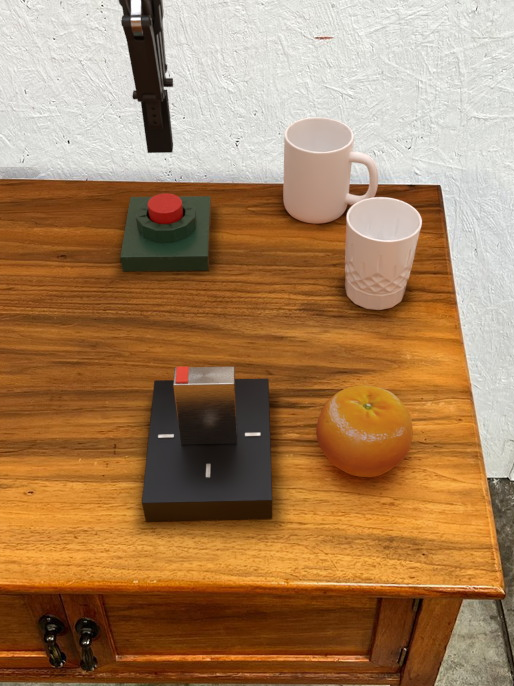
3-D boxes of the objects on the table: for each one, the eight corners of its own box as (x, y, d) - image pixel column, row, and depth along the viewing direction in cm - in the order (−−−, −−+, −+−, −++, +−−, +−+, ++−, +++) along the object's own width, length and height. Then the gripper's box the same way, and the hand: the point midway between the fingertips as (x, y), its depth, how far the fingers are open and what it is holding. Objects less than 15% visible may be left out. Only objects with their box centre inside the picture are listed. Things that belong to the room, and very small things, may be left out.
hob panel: (157, 400, 77) (154, 379, 74) (268, 398, 77) (268, 377, 75) (145, 522, 67) (141, 501, 65) (272, 519, 68) (272, 498, 65)
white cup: (337, 310, 86) (343, 237, 79) (342, 266, 91) (349, 193, 84) (408, 317, 85) (421, 244, 78) (410, 272, 91) (422, 200, 84)
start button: (150, 205, 93) (149, 193, 92) (183, 205, 93) (182, 192, 92) (147, 225, 90) (146, 213, 89) (182, 225, 91) (181, 212, 89)
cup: (297, 182, 103) (299, 111, 96) (383, 203, 100) (392, 131, 93) (272, 215, 98) (273, 143, 91) (362, 239, 95) (371, 166, 88)
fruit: (427, 397, 73) (393, 365, 66) (423, 486, 70) (387, 461, 63) (346, 405, 77) (307, 375, 71) (339, 489, 74) (298, 465, 68)
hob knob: (237, 426, 71) (234, 364, 65) (237, 444, 69) (234, 381, 63) (182, 427, 71) (174, 365, 65) (181, 445, 69) (172, 382, 63)
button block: (132, 211, 98) (128, 184, 96) (211, 210, 99) (209, 183, 96) (122, 272, 90) (117, 244, 87) (208, 270, 91) (206, 243, 88)
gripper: (97, -113, 73) (132, 119, 90) (77, -66, 64) (119, 182, 81) (178, -114, 73) (197, 118, 90) (169, -67, 64) (192, 181, 81)
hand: (160, 148), depth 85 cm, fingers closed
